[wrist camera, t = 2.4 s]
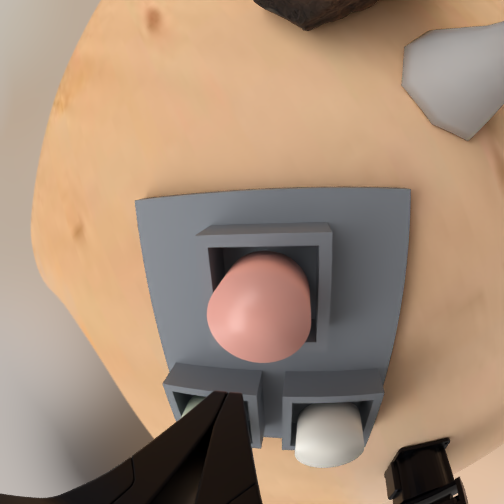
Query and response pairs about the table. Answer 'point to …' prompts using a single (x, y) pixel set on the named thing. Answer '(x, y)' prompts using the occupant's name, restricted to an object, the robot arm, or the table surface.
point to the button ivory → (329, 434)
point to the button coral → (261, 308)
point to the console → (321, 294)
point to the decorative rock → (313, 10)
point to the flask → (457, 76)
